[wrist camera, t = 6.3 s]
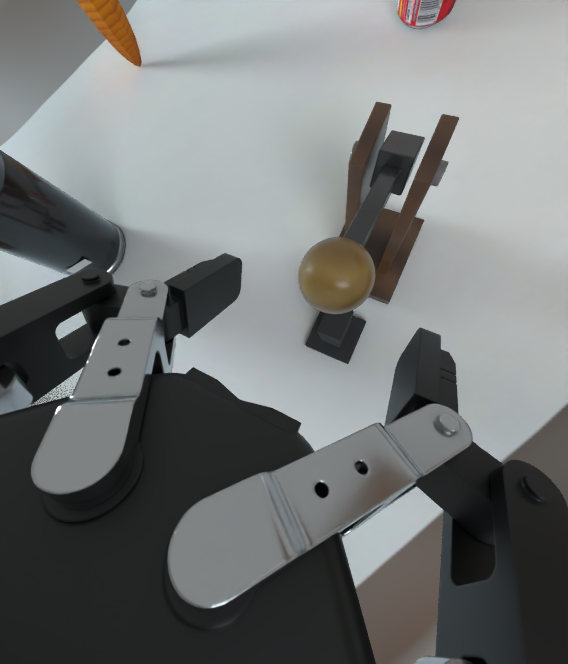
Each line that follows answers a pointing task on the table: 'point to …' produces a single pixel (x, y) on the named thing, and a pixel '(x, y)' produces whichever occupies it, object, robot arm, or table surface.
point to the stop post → (336, 335)
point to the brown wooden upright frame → (392, 227)
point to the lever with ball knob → (357, 235)
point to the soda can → (423, 11)
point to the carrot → (113, 26)
